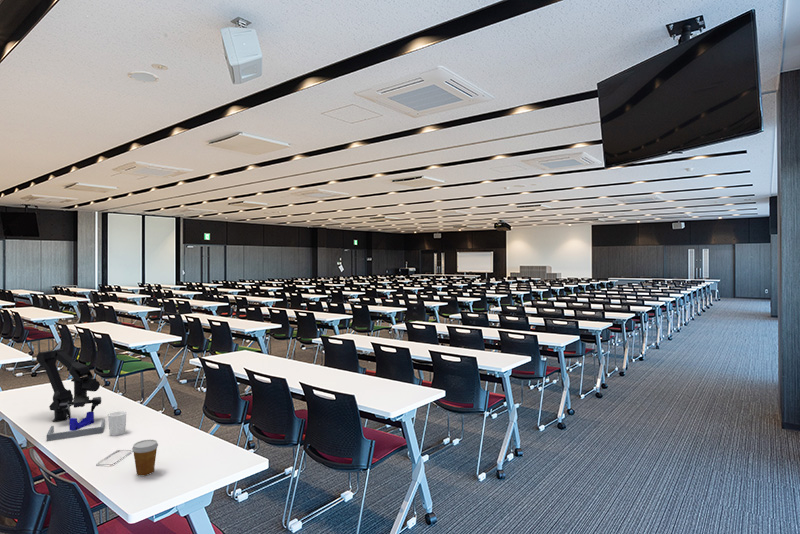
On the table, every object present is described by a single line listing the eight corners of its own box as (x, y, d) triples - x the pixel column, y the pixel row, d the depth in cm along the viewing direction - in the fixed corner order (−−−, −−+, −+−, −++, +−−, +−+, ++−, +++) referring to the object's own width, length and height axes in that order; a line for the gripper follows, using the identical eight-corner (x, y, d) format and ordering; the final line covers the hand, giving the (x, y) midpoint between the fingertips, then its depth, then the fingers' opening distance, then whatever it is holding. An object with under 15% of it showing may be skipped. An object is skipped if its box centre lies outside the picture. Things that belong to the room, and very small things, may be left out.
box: (51, 431, 240) (51, 425, 240) (104, 424, 251) (104, 418, 251) (46, 441, 228) (46, 435, 228) (102, 432, 239) (102, 426, 239)
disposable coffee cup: (138, 467, 199) (138, 439, 199) (162, 466, 200) (162, 438, 200) (127, 478, 190) (127, 448, 190) (152, 477, 191) (152, 447, 190)
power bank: (112, 467, 201) (133, 452, 216) (112, 464, 201) (133, 449, 216) (95, 467, 201) (117, 452, 216) (95, 463, 201) (117, 449, 216)
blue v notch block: (86, 422, 254) (86, 411, 254) (93, 423, 253) (93, 411, 253) (67, 430, 242) (66, 418, 242) (74, 431, 242) (74, 419, 242)
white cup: (130, 431, 240) (129, 412, 240) (115, 437, 233) (114, 417, 233) (119, 429, 244) (119, 410, 243) (104, 434, 236) (104, 414, 236)
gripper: (56, 396, 242) (57, 426, 243) (99, 391, 251) (100, 420, 252) (60, 390, 252) (60, 419, 252) (101, 386, 261) (101, 414, 261)
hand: (80, 418), depth 254 cm, fingers open, 9 cm apart
